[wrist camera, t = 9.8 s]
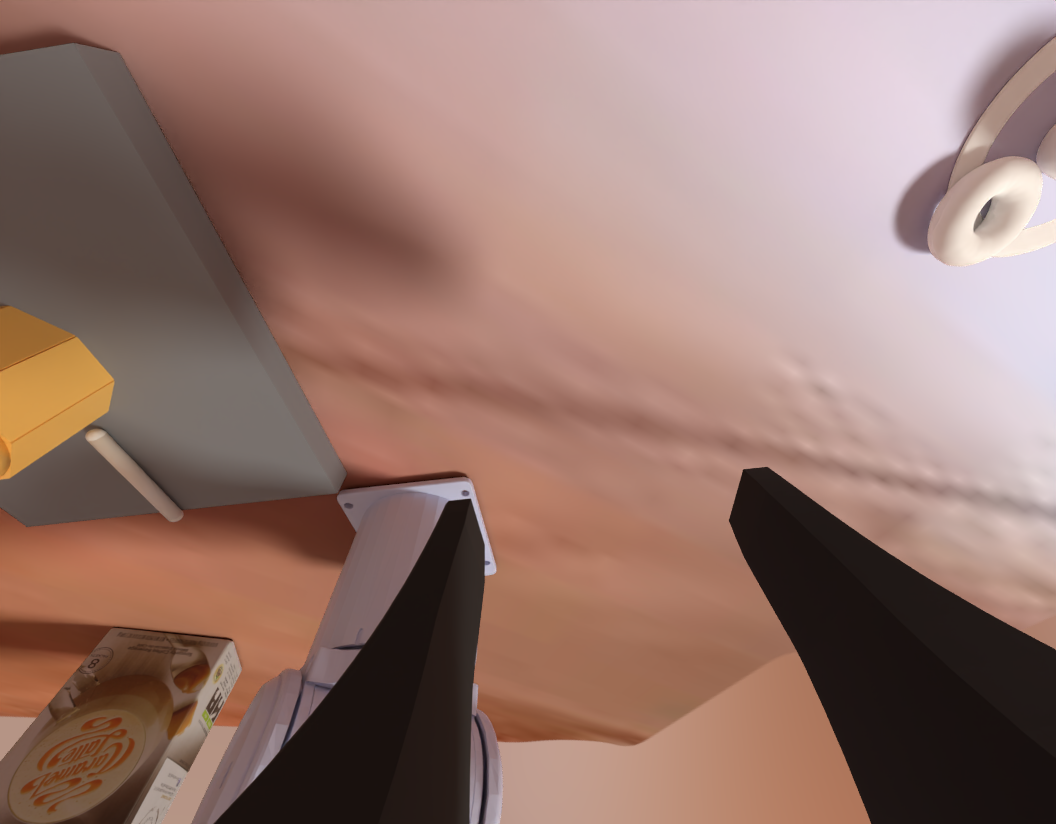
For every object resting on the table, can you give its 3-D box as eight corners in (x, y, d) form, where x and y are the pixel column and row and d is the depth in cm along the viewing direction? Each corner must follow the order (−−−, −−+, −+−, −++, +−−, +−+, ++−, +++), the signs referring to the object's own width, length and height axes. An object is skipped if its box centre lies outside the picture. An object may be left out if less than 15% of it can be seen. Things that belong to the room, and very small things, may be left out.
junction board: (349, 478, 22) (335, 507, 21) (57, 510, 23) (19, 541, 21) (119, 52, 12) (48, 37, 10) (-406, 137, 13) (-557, 137, 11)
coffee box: (234, 637, 33) (48, 970, 20) (243, 669, 36) (91, 970, 23) (108, 625, 31) (-188, 981, 18) (130, 659, 35) (-104, 979, 21)
